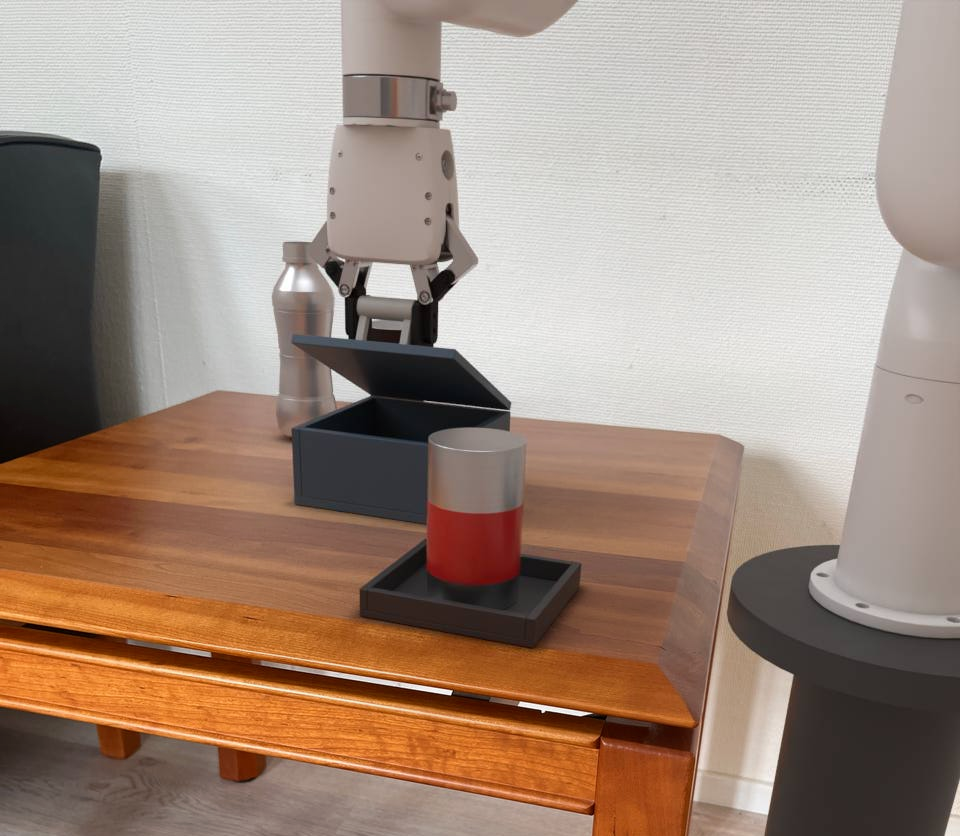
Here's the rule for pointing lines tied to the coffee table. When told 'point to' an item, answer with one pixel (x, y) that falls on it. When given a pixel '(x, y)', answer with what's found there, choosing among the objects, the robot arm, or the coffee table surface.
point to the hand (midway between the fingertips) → (391, 346)
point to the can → (475, 516)
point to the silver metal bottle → (307, 312)
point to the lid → (401, 361)
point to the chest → (376, 455)
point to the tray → (520, 624)
